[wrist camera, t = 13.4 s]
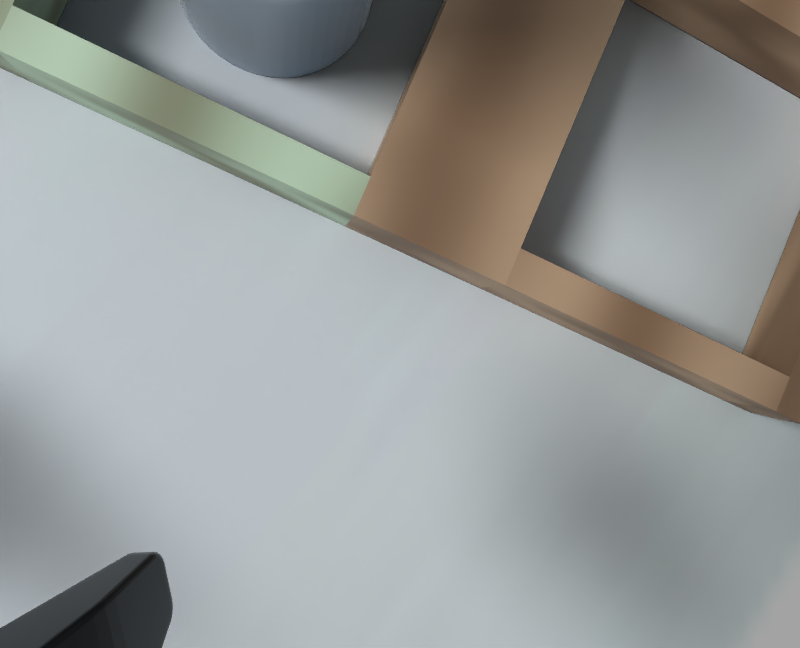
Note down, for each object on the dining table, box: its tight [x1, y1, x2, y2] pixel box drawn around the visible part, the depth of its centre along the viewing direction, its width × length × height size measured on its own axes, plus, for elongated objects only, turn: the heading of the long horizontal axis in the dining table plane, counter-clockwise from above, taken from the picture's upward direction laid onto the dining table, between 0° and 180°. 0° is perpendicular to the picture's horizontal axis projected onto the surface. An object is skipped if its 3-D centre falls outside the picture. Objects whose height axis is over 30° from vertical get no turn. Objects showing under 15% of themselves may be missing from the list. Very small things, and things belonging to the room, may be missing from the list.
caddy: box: [0, 0, 800, 424], centre depth 20 cm, size 27×12×2 cm, turn 67°
